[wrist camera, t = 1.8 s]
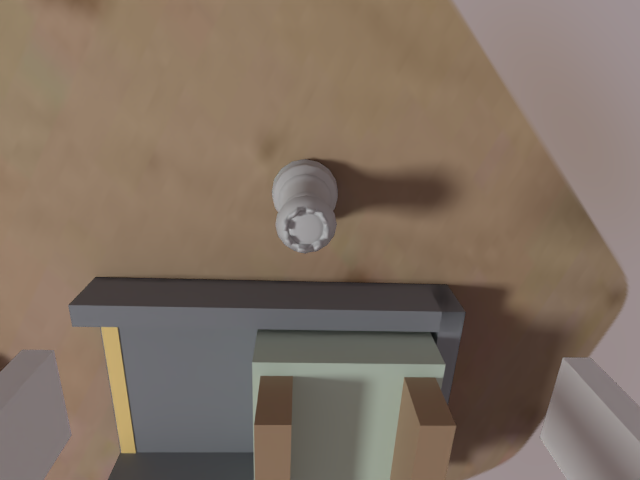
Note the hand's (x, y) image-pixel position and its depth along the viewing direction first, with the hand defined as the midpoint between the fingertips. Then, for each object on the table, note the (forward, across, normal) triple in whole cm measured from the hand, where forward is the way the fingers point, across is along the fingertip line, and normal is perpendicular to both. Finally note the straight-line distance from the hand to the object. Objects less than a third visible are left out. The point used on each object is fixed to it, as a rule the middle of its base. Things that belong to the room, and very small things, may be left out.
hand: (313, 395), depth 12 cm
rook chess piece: (+20, 0, 0) cm, 20 cm away
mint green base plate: (+19, +3, -16) cm, 25 cm away
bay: (+20, -2, -16) cm, 26 cm away
